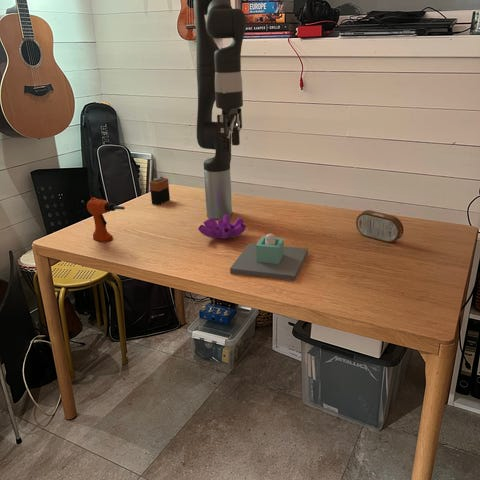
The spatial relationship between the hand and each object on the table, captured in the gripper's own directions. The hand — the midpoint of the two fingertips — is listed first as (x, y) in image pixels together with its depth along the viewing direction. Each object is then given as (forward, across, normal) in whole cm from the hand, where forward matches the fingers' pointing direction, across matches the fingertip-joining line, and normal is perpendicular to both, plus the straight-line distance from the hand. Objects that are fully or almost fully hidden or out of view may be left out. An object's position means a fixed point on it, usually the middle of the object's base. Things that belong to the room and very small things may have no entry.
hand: (231, 148), depth 139 cm
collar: (+29, +10, +14) cm, 33 cm away
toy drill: (+30, +7, -40) cm, 50 cm away
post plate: (+30, +10, +14) cm, 35 cm away
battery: (+30, -33, -42) cm, 61 cm away
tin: (+30, -15, +42) cm, 54 cm away
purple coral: (+30, -5, -5) cm, 31 cm away
